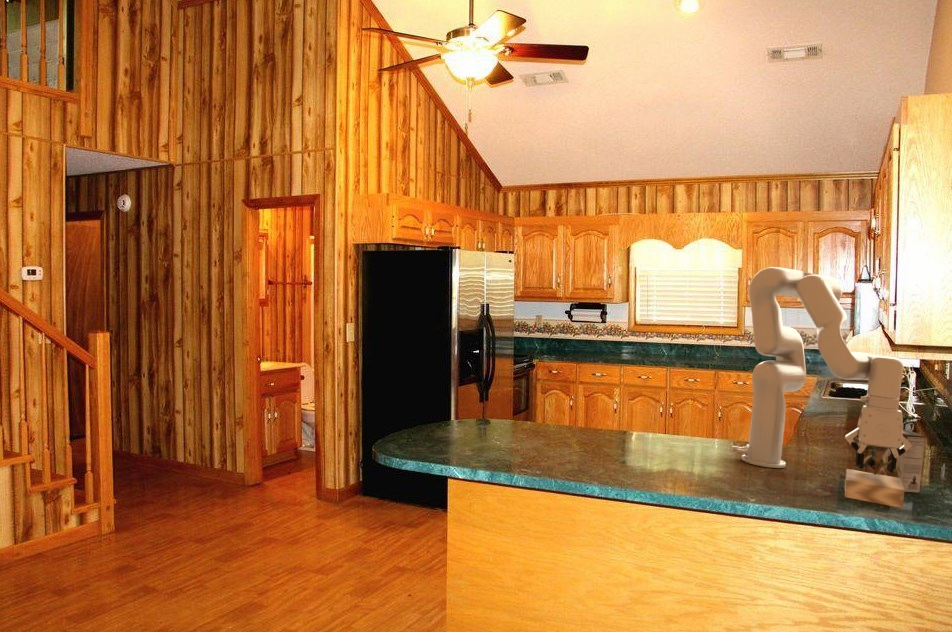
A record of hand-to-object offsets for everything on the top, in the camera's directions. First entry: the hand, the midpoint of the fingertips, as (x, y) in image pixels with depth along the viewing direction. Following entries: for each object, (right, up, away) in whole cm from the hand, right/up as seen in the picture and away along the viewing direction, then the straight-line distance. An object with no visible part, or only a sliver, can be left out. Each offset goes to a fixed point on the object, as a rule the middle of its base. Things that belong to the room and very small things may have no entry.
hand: (874, 469), depth 188 cm
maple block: (-1, -8, 0) cm, 8 cm away
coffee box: (+14, -8, +13) cm, 20 cm away
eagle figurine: (0, -1, +3) cm, 3 cm away
